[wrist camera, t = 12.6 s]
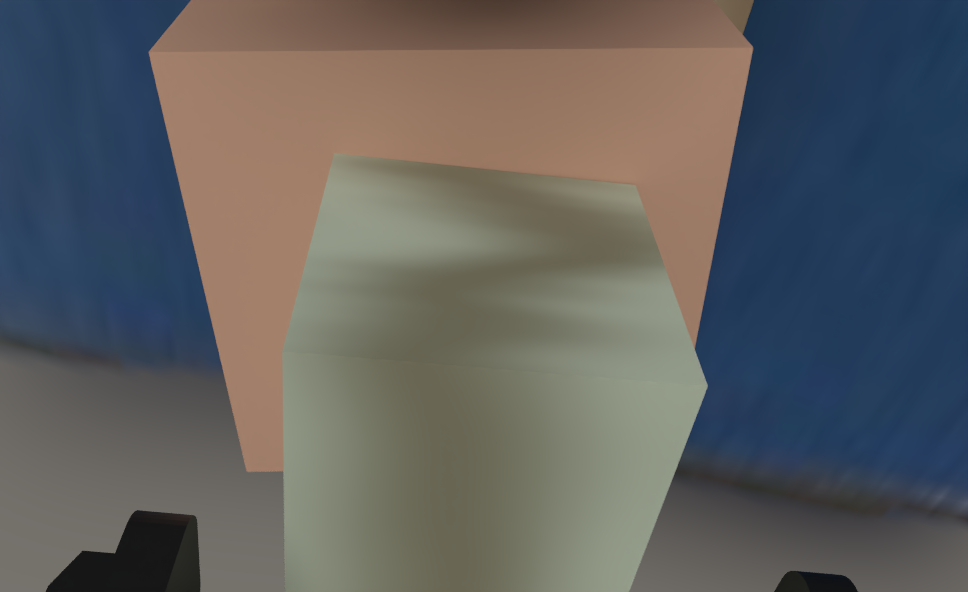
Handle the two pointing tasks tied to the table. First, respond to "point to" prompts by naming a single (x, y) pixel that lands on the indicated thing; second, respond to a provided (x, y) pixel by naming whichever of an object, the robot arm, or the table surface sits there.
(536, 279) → the sage cube
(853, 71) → the table surface
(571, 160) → the tower top block
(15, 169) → the table surface
